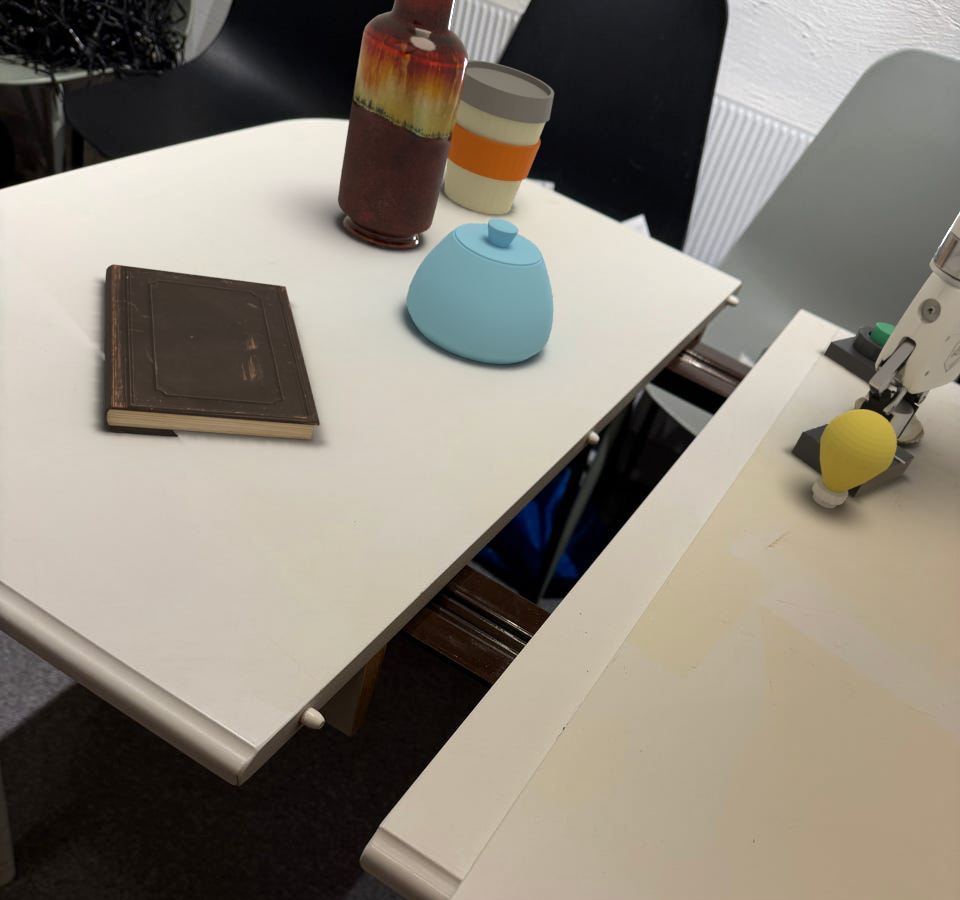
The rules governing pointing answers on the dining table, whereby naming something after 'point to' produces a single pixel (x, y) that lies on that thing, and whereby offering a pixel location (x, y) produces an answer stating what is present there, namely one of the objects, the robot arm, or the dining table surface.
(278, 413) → the hardcover book
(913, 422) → the seashell
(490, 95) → the reusable coffee cup
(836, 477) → the light bulb
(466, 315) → the sugar bowl
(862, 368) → the block
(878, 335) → the button
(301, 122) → the dining table surface
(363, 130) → the vase
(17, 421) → the dining table surface
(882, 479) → the washer panel
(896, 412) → the program dial
